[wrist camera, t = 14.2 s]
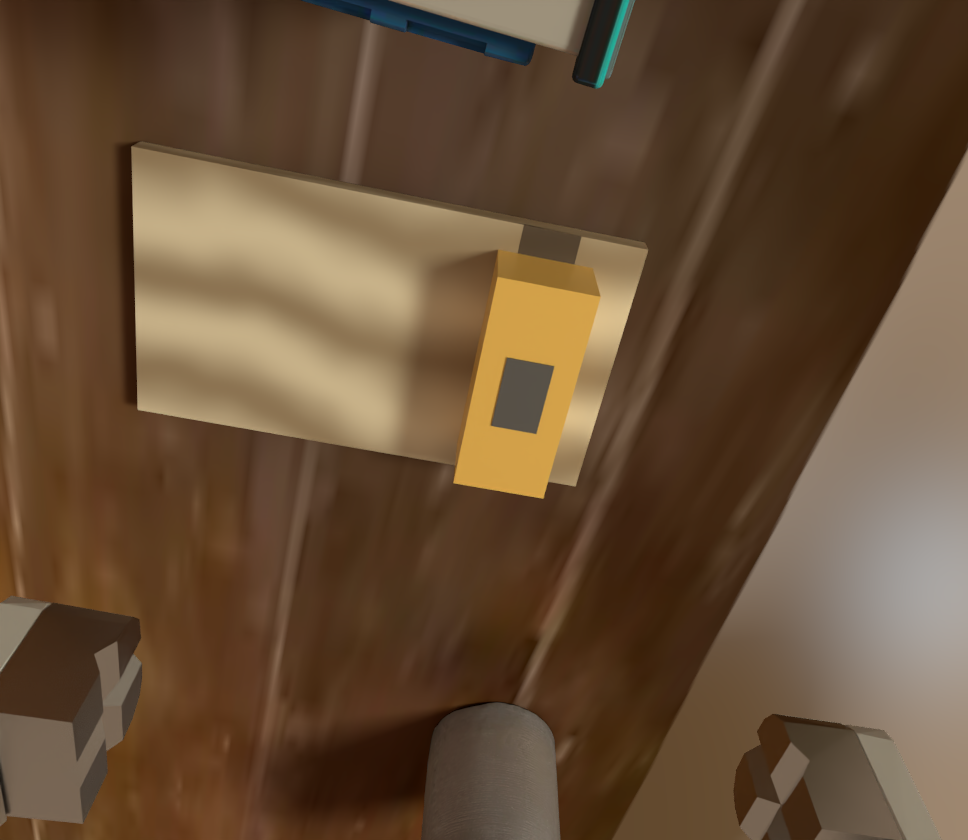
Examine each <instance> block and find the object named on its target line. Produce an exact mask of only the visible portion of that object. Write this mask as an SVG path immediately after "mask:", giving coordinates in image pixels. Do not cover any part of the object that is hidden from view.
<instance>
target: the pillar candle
mask: <svg viewBox="0 0 968 840" xmlns="http://www.w3.org/2000/svg"><path fill="white" fill-rule="evenodd" d="M421 840H560V828H559V810H558V792H557V775H556V756H555V742H554V737H553V734H552V732H551V730H550V729H549V727H548V726H547V724H546V723H545V722H544V721H543V720H542V719H541V718H539V717H538V716H537V715H536V714H534V713H532V712H530V711H528V710H526V709H523V708H521V707H519V706H515V705H509V704H506V703H499V702H495V703H487V704H483V705H478V706H473V707H469V708H464V709H460V710H457V711H454V712H452V713H450V714H448V715H447V716H446V717H444V718H443V719H442V720H441V721H440V722H439V724H438V725H437V726H436V727H435V729H434V731H433V735H432V739H431V744H430V751H429V758H428V764H427V776H426V785H425V800H424V814H423V824H422V837H421Z"/></svg>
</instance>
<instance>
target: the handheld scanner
mask: <svg viewBox="0 0 968 840" xmlns="http://www.w3.org/2000/svg"><path fill="white" fill-rule="evenodd" d="M302 1H305V2H308V3H312V4H315V5H319V6H322V7H326V8H329V9H332V10H336V11H339V12H343V13H346V14H350V15H353V16H356V17H360V18H363V19H367V20H370V22H371V23H374V24H377V25H381V26H384V27H388V28H391V29H395V30H398V31H401V32H406V31H408V32H411V33H415V34H418V35H422V36H425V37H429V38H432V39H436V40H439V41H443V42H446V43H449V44H453V45H456V46H460V47H463V48H467V49H470V50H474V51H477V52H481V53H484V55H485V56H489V57H493V58H497V59H500V60H504V61H508V62H512V63H516V64H520V65H524V66H526V65H528V64H529V63H530V61H531V59H532V56H533V52H534V48H535V45H536V44H538V45H542V46H545V47H548V48H552V49H555V50H559V51H562V52H565V53H569V54H572V55H575V56H577V58H576V62H575V66H574V70H573V75H572V78H573V80H574V82H576V83H579V84H582V85H585V86H589V87H592V88H600V87H601V86H602V85H603V82H604V79H608V78H610V76H611V73H612V70H613V67H614V64H615V61H616V58H617V55H618V51H619V48H620V45H621V42H622V39H623V36H624V33H625V30H626V27H627V24H628V20H629V17H630V14H631V11H632V8H633V5H634V2H635V0H302Z"/></svg>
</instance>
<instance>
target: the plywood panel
mask: <svg viewBox="0 0 968 840" xmlns="http://www.w3.org/2000/svg"><path fill="white" fill-rule="evenodd" d="M131 153H132V194H133V235H134V277H135V318H136V359H137V400H138V410H142V411H148V412H153V413H159V414H165V415H171V416H176V417H182V418H188V419H193V420H199V421H205V422H211V423H216V424H222V425H228V426H233V427H239V428H245V429H251V430H256V431H262V432H268V433H273V434H279V435H285V436H291V437H296V438H302V439H308V440H313V441H319V442H325V443H331V444H336V445H342V446H348V447H353V448H359V449H365V450H371V451H376V452H382V453H388V454H393V455H399V456H405V457H411V458H416V459H422V460H428V461H434V462H439V463H445V464H451V465H455V461H456V450H457V442H458V437H459V433H460V428H461V423H462V418H463V414H464V409H465V404H466V399H467V395H468V390H469V385H470V381H471V376H472V371H473V366H474V362H475V357H476V352H477V347H478V343H479V338H480V333H481V328H482V324H483V319H484V314H485V310H486V305H487V300H488V295H489V291H490V286H491V281H492V276H493V272H494V267H495V262H496V257H497V253H498V250H503V251H508V252H513V253H518V254H523V255H528V256H533V257H538V258H544V259H549V260H554V261H559V262H564V263H569V264H574V265H579V266H584V267H589V268H593V271H594V274H595V278H596V281H597V285H598V288H599V292H600V296H601V298H600V302H599V305H598V309H597V312H596V316H595V319H594V323H593V326H592V330H591V333H590V337H589V340H588V344H587V347H586V351H585V354H584V358H583V361H582V365H581V368H580V372H579V375H578V378H577V382H576V385H575V389H574V392H573V396H572V399H571V403H570V406H569V410H568V413H567V417H566V420H565V424H564V427H563V431H562V434H561V438H560V441H559V445H558V448H557V452H556V455H555V459H554V462H553V466H552V469H551V473H550V476H549V480H548V482H554V483H559V484H565V485H571V486H576V482H577V479H578V476H579V473H580V469H581V466H582V463H583V460H584V457H585V453H586V450H587V447H588V444H589V440H590V437H591V434H592V431H593V427H594V424H595V421H596V418H597V414H598V411H599V408H600V405H601V401H602V398H603V395H604V392H605V388H606V385H607V382H608V379H609V376H610V372H611V369H612V366H613V363H614V359H615V356H616V353H617V350H618V346H619V343H620V340H621V337H622V333H623V330H624V327H625V324H626V320H627V317H628V314H629V311H630V307H631V304H632V301H633V298H634V295H635V291H636V288H637V285H638V282H639V278H640V275H641V272H642V269H643V265H644V262H645V259H646V256H647V252H648V248H647V246H646V244H645V242H640V241H635V240H630V239H625V238H620V237H615V236H610V235H605V234H600V233H595V232H590V231H585V230H580V229H575V228H570V227H565V226H560V225H555V224H550V223H545V222H540V221H535V220H530V219H525V218H520V217H515V216H510V215H505V214H500V213H495V212H490V211H485V210H480V209H475V208H470V207H465V206H461V205H456V204H451V203H446V202H441V201H436V200H431V199H426V198H421V197H416V196H411V195H406V194H401V193H396V192H391V191H386V190H381V189H376V188H371V187H366V186H361V185H356V184H351V183H346V182H341V181H336V180H331V179H326V178H321V177H316V176H311V175H306V174H301V173H296V172H291V171H286V170H281V169H276V168H271V167H266V166H261V165H256V164H251V163H246V162H242V161H237V160H232V159H227V158H222V157H217V156H212V155H207V154H202V153H197V152H192V151H187V150H182V149H177V148H172V147H167V146H162V145H157V144H152V143H147V142H142V141H141V142H139V143H137V144H135V145H133V146H131Z"/></svg>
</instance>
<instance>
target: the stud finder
mask: <svg viewBox="0 0 968 840" xmlns="http://www.w3.org/2000/svg"><path fill="white" fill-rule="evenodd" d="M600 298H601V296H600V292H599V288H598V285H597V281H596V278H595V274H594V271H593V268H589V267H584V266H579V265H574V264H569V263H564V262H559V261H554V260H549V259H544V258H538V257H533V256H528V255H523V254H518V253H513V252H508V251H503V250H498V253H497V257H496V262H495V267H494V272H493V276H492V281H491V286H490V291H489V295H488V300H487V305H486V310H485V314H484V319H483V324H482V328H481V333H480V338H479V343H478V347H477V352H476V357H475V362H474V366H473V371H472V376H471V381H470V385H469V390H468V395H467V399H466V404H465V409H464V414H463V418H462V423H461V428H460V433H459V437H458V442H457V450H456V461H455V471H454V482H453V483H456V484H462V485H468V486H473V487H479V488H485V489H491V490H497V491H502V492H508V493H514V494H520V495H525V496H531V497H537V498H543V497H544V494H545V490H546V487H547V483H548V480H549V476H550V473H551V469H552V466H553V462H554V459H555V455H556V452H557V448H558V445H559V441H560V438H561V434H562V431H563V427H564V424H565V420H566V417H567V413H568V410H569V406H570V403H571V399H572V396H573V392H574V389H575V385H576V382H577V378H578V375H579V372H580V368H581V365H582V361H583V358H584V354H585V351H586V347H587V344H588V340H589V337H590V333H591V330H592V326H593V323H594V319H595V316H596V312H597V309H598V305H599V302H600Z"/></svg>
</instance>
